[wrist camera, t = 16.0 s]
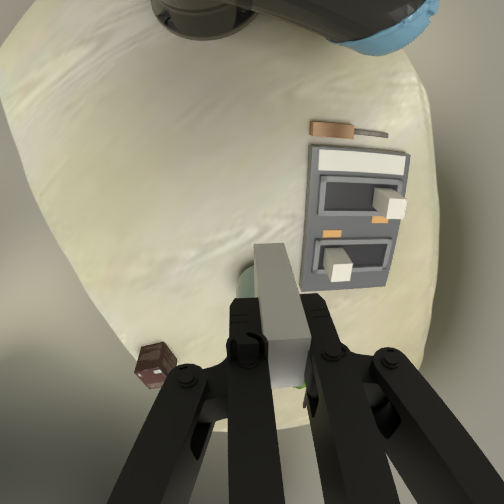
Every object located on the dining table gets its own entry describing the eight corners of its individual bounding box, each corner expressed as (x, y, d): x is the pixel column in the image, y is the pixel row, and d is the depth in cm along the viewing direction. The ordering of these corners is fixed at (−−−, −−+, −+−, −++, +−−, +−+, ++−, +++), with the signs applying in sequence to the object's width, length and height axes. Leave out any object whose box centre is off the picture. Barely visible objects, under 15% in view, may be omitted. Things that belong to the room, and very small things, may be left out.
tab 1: (324, 247, 46) (333, 264, 42) (342, 247, 46) (352, 263, 42) (322, 264, 47) (330, 281, 43) (340, 263, 48) (349, 280, 43)
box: (154, 364, 61) (148, 389, 54) (140, 346, 58) (132, 372, 52) (178, 359, 60) (173, 386, 54) (164, 341, 57) (158, 368, 51)
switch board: (308, 144, 41) (313, 147, 38) (404, 152, 41) (413, 156, 39) (299, 285, 52) (302, 294, 50) (381, 280, 53) (386, 288, 50)
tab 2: (374, 187, 41) (389, 198, 37) (391, 188, 42) (407, 199, 37) (372, 206, 43) (386, 218, 39) (388, 206, 43) (403, 219, 39)
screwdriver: (309, 134, 40) (313, 136, 38) (310, 121, 39) (313, 122, 37) (383, 141, 40) (389, 143, 39) (384, 128, 40) (390, 130, 38)
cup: (271, 249, 48) (279, 285, 40) (289, 284, 52) (299, 323, 43) (228, 268, 50) (227, 306, 41) (248, 301, 53) (251, 341, 44)
